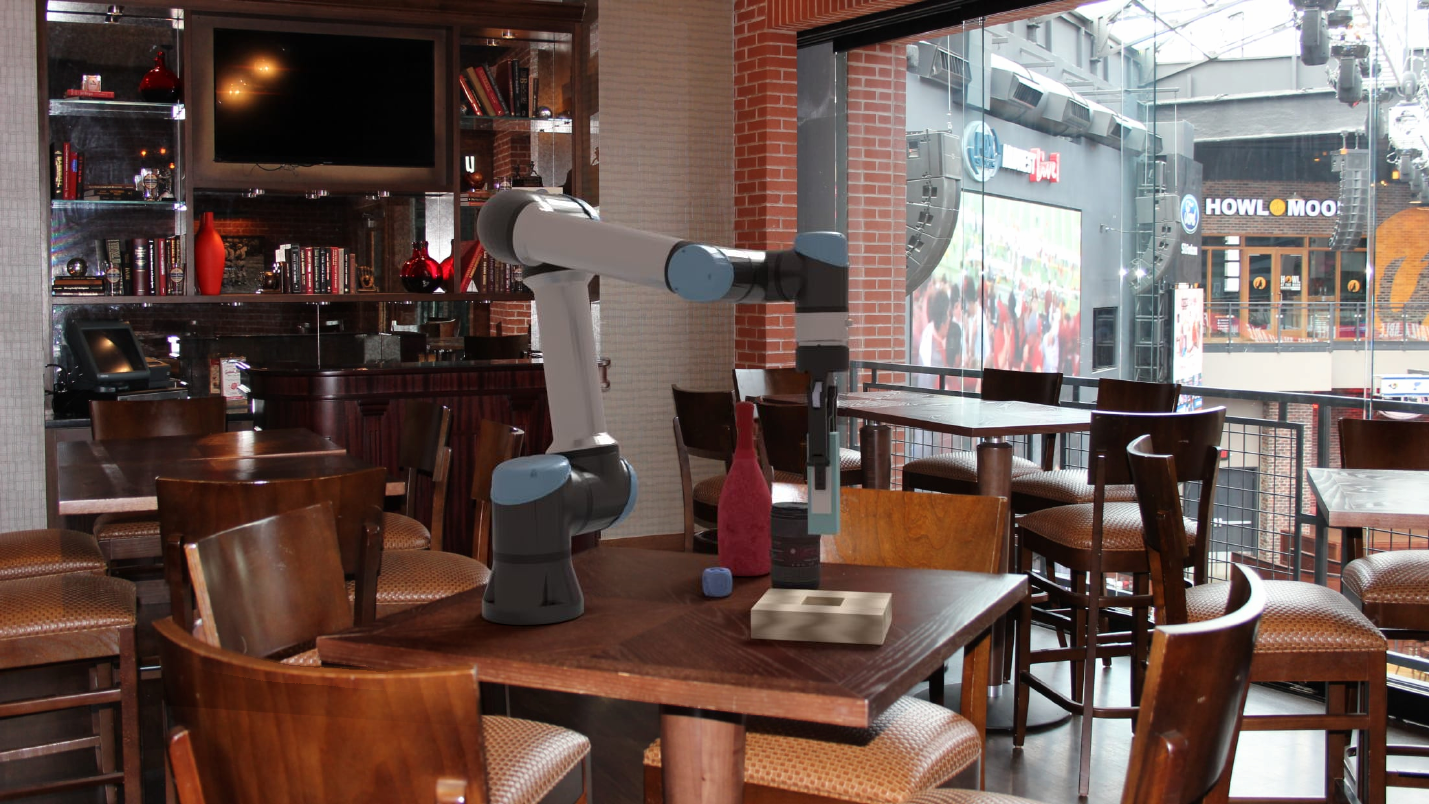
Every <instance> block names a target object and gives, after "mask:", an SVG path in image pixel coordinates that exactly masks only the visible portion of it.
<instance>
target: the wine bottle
mask: <svg viewBox="0 0 1429 804" xmlns="http://www.w3.org/2000/svg"><path fill="white" fill-rule="evenodd" d="M734 409H735V414H736V415H735V417H736V418H735V419H736V420H735V427H736V429H737V436H736V437H737V438H736V447H735V451H734V455H733V461H732V464H731V467H730V468H729V472H728V474H727V476H726V478H725V480H724V483H723V486H722V489H721V492H720V495H719V499H718V505H717V550H718V551H717V553H718V568H727V569H729V570H730V572H731V575H732V577H733V576H734V577H757V576H758V577H759V576H764V575H766V574H769V573H771V557H770V555H769V554H770V548H771V537H770V513H771V509H772V504H773V503H774V502H773V500H772V496H771V491H770V489H769V486H768V484H767V481H766V478H765V477H764V474H763V472H762V470H761V467H760V465H759V463H758V460H757V459H758V458H757V454H756V450H755V446H754V433H753V432H754V431H753V430H754V427H755V426H756V425H755V421H754V420H755V419H754V415H755V413H754V411H755V404H754V403H753V402H752V401H748V400H747V401H746V400H744V401H738V402H737V403H735V406H734Z"/></svg>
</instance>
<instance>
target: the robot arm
mask: <svg viewBox="0 0 1429 804" xmlns="http://www.w3.org/2000/svg"><path fill="white" fill-rule="evenodd" d="M476 231H477V232H476V233H477V236H478V241H479V242H480V244H481V246H482V248H483V249H484V251H485V252H486V253H487V254H488V255H490V257H492V258H493V259H495V260H497V261H499V262H501V263H504V264H507V265H512V266H520V272H521V273H520V274H521V280H522V283H523V284H524V285H525V286H527V287H528V289H530V290H531V291H532V292H533V294H534V295H533V296H534V304H535V309H536V311H535V312H536V316H537V317H536V319H537V325H538V333H539V340H540V347H541V356H542V363H543V369H544V378H545V386H546V391H547V400H548V406H549V407H548V408H549V415H550V422H551V429H552V437H553V440H552V443H551V444H550V445H549V447H547V450H546V451H545V454H534V455H529V456H520V457H516V458H511V459H509V460H506V461H503V462H502V463H499V464H498V465H497V466H496V467H495V468H494V469H493V471H492V474H491V489H490V499H491V500H490V502H491V533H492V536H491V537H492V567H491V571H490V573H489V577H488V581H487V584H486V587H485V591H484V595H483V596H482V600H481V614H482V615H481V616H482V618H483V619H485V620H486V621H489V622H492V623H497V624H502V625H504V624H505V625H512V626H513V625H518V626H527V625H528V626H530V625H545V624H554V623H561V622H564V621H565V622H566V621H569V620H573V619H577V618H578V617H580V616H581V615H582V614H584V611H585V604H584V603H585V602H584V595H583V592H582V589H581V586H580V584H579V580H578V577H577V575H576V571H575V569H574V566H573V561H572V537H574V536H578V535H579V536H580V535H582V534H583V535H584V534H587V533H588V534H589V533H591V532H602V531H606V530H607V529H609V528H612V527H613V526H616V525H619V524H620V523H622V522H623V521H625V520H626V519H627V518H628V516H629V515H630V514H631V513H632V511H633V509H634V508H635V505H636V504H637V503H636V502H637V499H638V495H639V494H638V493H639V482H638V478H637V477H638V476H637V473H636V471H635V469H634V468H633V466H632V465H630V464H629V462H628V460H627V459H626V458H624V457H622V456H621V455H620V453H621V452H620V448H619V447H620V446H619V441H617V440H616V439H615V438H613V436H611V435H610V434H609V433H608V429H607V423H606V422H607V421H606V414H605V407H604V406H605V405H604V400H603V392H602V384H601V378H600V370H599V362H598V355H597V349H596V340H595V333H594V326H593V319H592V317H593V316H592V311H591V309H592V308H591V303H590V296H589V295H590V293H589V287H588V285H589V283H590V282H591V281H592V279H593V278H594V276H596V275H597V276H601V277H604V278H609V279H612V280H617V281H622V282H627V283H630V284H634V285H638V286H644V287H647V288H651V289H656V290H660V291H663V292H664V291H665V292H668V293H672V294H676V295H678V296H679V297H680V298H682V299H684V300H686V301H687V300H688V301H691V302H695V303H696V302H697V303H700V304H708V303H727V304H737V305H746V306H747V305H753V304H772V303H794V341H795V342H797V343H798V345H797V346H796V348H795V349H794V350H795V351H794V352H795V353H794V354H795V356H794V357H795V358H794V361H795V366H794V367H795V371H796V372H797V373H802V374H804V373H805V374H807V373H811V377H810V379H811V380H810V385H809V386H808V385H807V387H806V395H805V396H806V401H807V424H808V425H807V427H808V429H807V431H808V432H807V434H808V441H809V457H808V461H809V462H807V461H804V464H805V467H807V466H811V513H824V514H831V513H832V502H831V466H829V464H830V461H829V454H830V432H838V396H839V384H836V385H835V382H834V381H835V379H834V373H846V372H849V370H850V347H849V346H848V345H845V342H848V341H849V338H850V337H849V335H850V332H849V331H850V330H849V328H848V327H853V325H854V321H853V319H850V318H849V308H850V307H849V268H850V263H849V254H848V253H849V250H848V249H849V248H848V240H847V237H846V236H845V235H844V234H843V233H840V232H836V231H808V232H800V233H797V234H796V235H795V236H794V238H793V243H792V248H785V249H766V250H765V249H763V250H762V249H760V250H758V249H757V250H756V249H747V248H736V247H725V246H719V245H713V244H709V243H703V242H698V241H695V240H694V241H693V240H687V239H684V238H683V239H682V238H679V237H674V236H670V235H665V234H659V233H655V232H650V231H646V230H641V229H636V228H633V227H628V226H622V225H618V224H614V223H609V222H604V221H602V220H601V218H600V216H599V215H598V213H597V212H596V210H595V209H594V208H593V207H592V205H590V204H589V203H588V202H586V201H584V200H583V199H580V198H577V197H574V196H571V195H568V194H565V193H549V192H542V191H541V192H540V191H535V190H529V189H528V190H527V189H522V188H509V189H504V190H501V191H499V192H496V193H495V194H493V195H492V196H490V197H489V198H488V199H487V200H486V201H485V202H484V204H482V207H481V208H480V211H479V213H478V215H477V221H476ZM848 318H849V319H848ZM841 459H842V457H841V456H840V462H841V461H842V460H841Z"/></svg>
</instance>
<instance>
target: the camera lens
mask: <svg viewBox="0 0 1429 804" xmlns="http://www.w3.org/2000/svg"><path fill="white" fill-rule="evenodd" d="M772 503H773V504H772V509H771V513H770V537H771V548H770V554H769V555H770V557H771V571H770V581H771V589H795V590H819V589H820V586H821V585H820V583H821V575H822V572H821V571H822V570H821V569H822V568H821V567H822V566H821V539H822V535H820V534H808V501H804V502H802V501H780V502H772Z"/></svg>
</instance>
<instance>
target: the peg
mask: <svg viewBox="0 0 1429 804" xmlns="http://www.w3.org/2000/svg"><path fill="white" fill-rule="evenodd" d="M840 443H841V442H840V431H837V432H830V454H829V461H830V464H829V466H831V502H832V513H831V514H824V513H811V466H806V467H807V468H806V472H807V473H806V474H807V475H806V476H807V503H808V534H820V535H821V536H823V535H824V536H825V535H828V536H830V535H831V536H833V535H834V536H837V535H838V534H839V533H840V532H841V469H840V468H841V461H840V455H841V454H840V451H841V449H840V448H841V447H840ZM806 456H807V457H806V459H807V460H806V462H809V461H808V457H809V441H808V433H807V434H806Z"/></svg>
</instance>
